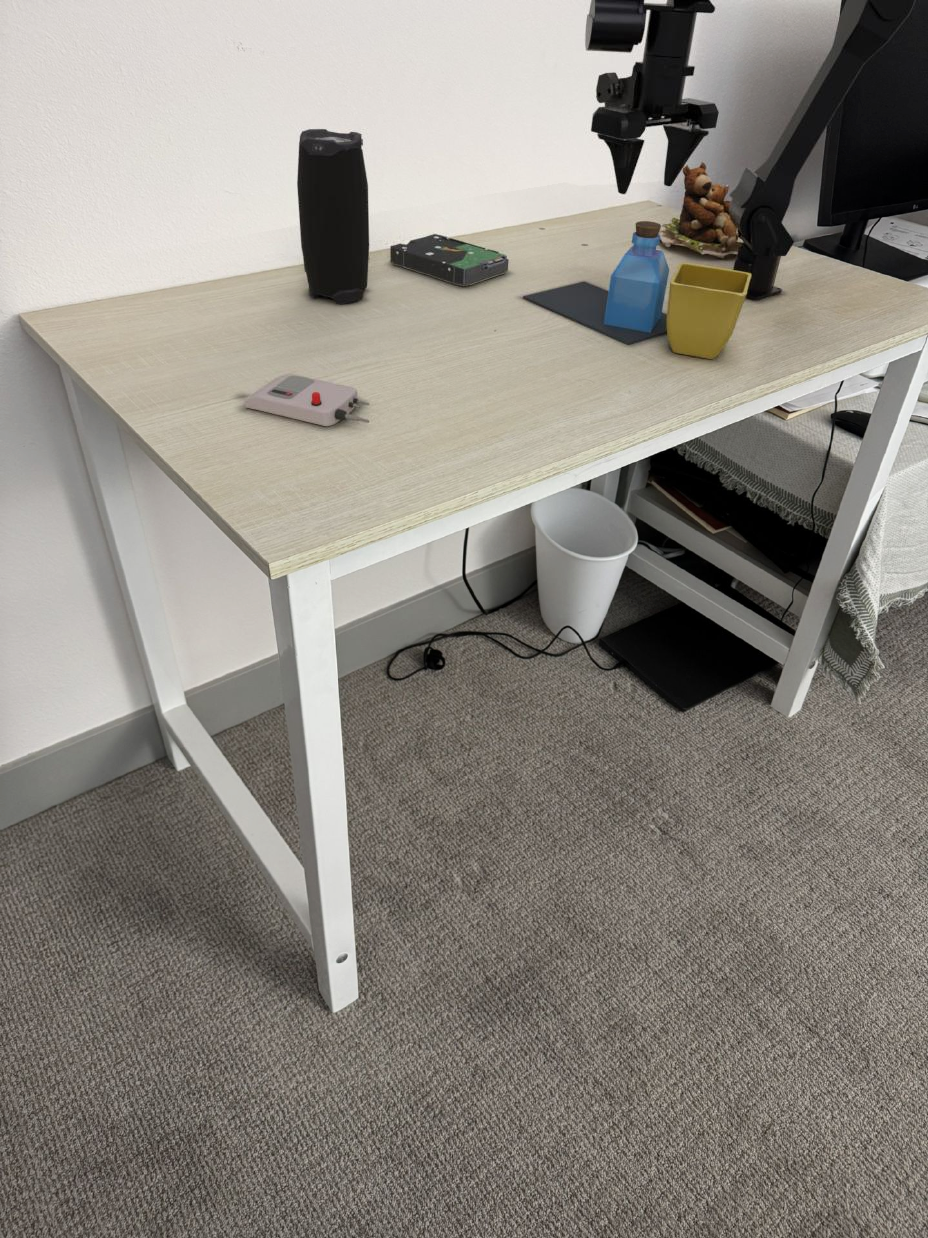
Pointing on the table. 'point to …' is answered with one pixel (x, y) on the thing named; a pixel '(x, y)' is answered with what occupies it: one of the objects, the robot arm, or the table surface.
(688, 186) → the bear figurine
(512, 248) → the table surface
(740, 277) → the flower pot
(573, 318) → the desk mat
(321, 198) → the portable speaker
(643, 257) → the perfume bottle
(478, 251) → the disk drive
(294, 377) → the grey electronic control box
